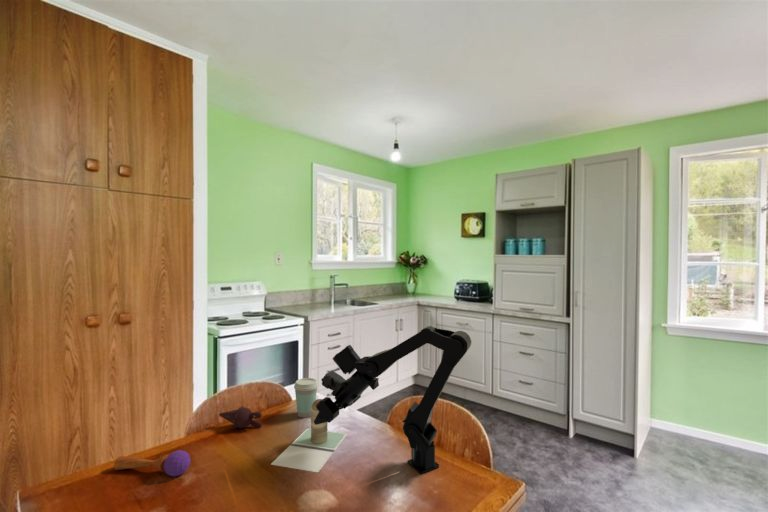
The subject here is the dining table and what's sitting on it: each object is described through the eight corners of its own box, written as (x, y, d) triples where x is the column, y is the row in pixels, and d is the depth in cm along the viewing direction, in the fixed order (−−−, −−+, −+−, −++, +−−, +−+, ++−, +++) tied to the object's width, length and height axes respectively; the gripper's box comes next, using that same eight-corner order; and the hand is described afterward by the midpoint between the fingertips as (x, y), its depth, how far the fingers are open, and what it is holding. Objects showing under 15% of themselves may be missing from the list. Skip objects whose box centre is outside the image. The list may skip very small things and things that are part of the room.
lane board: (317, 473, 97) (317, 471, 97) (270, 465, 100) (270, 463, 100) (347, 435, 118) (347, 433, 118) (307, 429, 122) (307, 428, 122)
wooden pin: (328, 442, 112) (328, 401, 112) (311, 444, 111) (311, 403, 111) (326, 435, 117) (326, 395, 117) (310, 437, 115) (310, 397, 115)
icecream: (212, 412, 119) (256, 419, 118) (224, 398, 126) (266, 404, 125) (213, 430, 121) (257, 437, 120) (225, 415, 128) (266, 421, 127)
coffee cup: (322, 413, 135) (323, 380, 135) (306, 421, 127) (306, 386, 128) (305, 407, 139) (306, 376, 139) (288, 415, 132) (289, 382, 132)
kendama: (129, 447, 102) (195, 447, 99) (127, 470, 101) (194, 471, 98) (110, 454, 96) (180, 454, 94) (108, 479, 95) (179, 480, 92)
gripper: (352, 356, 120) (322, 386, 124) (322, 373, 103) (289, 407, 107) (374, 384, 117) (343, 413, 121) (347, 405, 100) (312, 439, 104)
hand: (323, 417), depth 113 cm, fingers open, 9 cm apart
